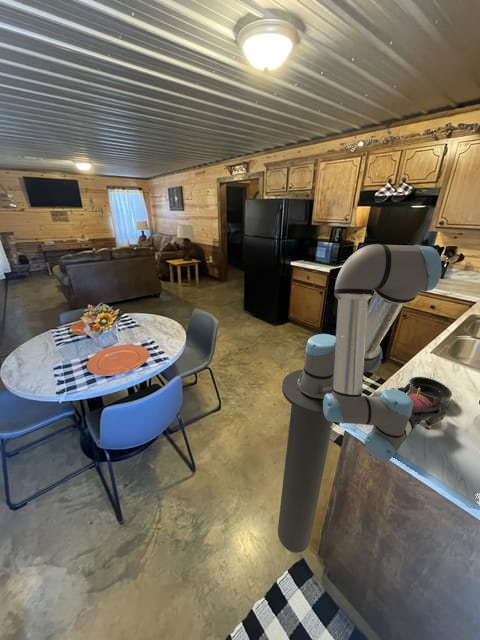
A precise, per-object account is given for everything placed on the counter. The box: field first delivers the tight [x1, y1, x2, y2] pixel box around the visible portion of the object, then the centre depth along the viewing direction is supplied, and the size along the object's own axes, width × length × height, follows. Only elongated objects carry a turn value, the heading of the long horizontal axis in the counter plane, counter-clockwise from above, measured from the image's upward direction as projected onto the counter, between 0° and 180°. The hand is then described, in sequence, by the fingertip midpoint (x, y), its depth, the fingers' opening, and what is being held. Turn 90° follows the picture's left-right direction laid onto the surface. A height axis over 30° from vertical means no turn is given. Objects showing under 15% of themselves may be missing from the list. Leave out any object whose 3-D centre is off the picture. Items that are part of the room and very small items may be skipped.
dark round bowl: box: [406, 376, 453, 409], centre depth 101 cm, size 13×13×5 cm
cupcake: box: [406, 387, 432, 410], centre depth 92 cm, size 9×8×12 cm
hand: (423, 393), depth 95 cm, fingers open, 9 cm apart
